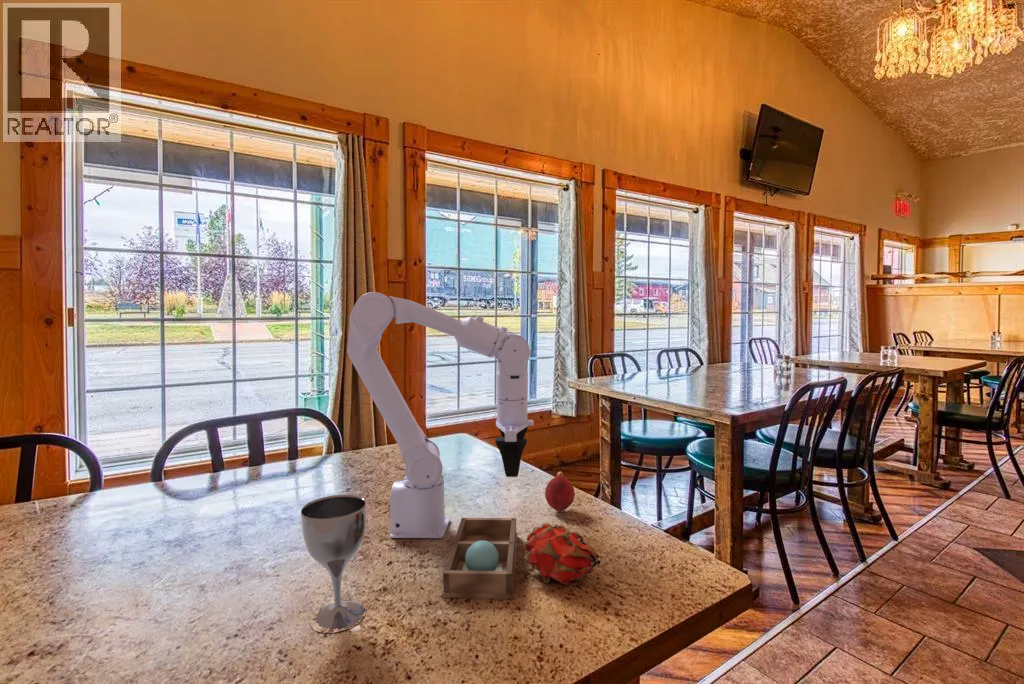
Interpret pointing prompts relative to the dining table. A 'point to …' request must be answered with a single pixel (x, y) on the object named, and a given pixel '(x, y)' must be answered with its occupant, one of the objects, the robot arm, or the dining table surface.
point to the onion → (559, 493)
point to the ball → (482, 557)
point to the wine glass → (335, 549)
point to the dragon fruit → (559, 554)
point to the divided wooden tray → (482, 582)
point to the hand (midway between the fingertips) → (512, 469)
